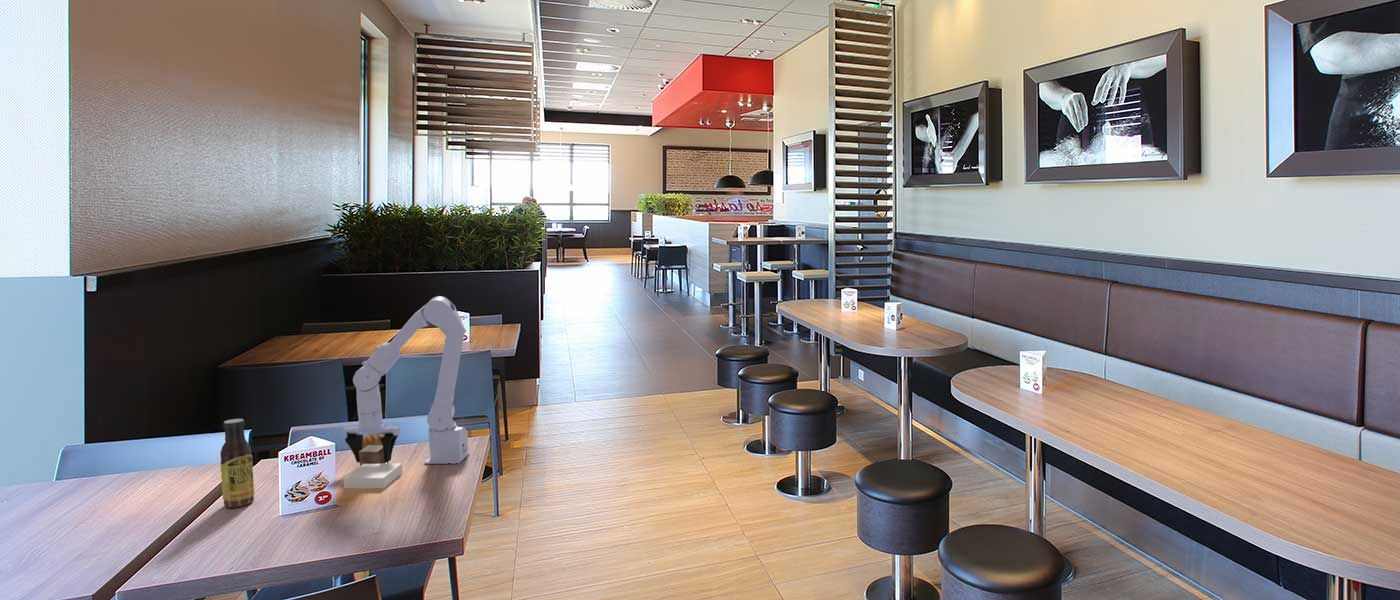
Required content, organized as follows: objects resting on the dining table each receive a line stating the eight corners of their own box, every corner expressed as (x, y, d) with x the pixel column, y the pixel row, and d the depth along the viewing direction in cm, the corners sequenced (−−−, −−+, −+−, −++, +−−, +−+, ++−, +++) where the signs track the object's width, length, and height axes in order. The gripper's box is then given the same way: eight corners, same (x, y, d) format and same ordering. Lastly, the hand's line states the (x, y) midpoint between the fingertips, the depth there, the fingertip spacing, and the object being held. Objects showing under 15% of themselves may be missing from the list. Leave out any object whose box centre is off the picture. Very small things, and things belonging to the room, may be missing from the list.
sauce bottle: (232, 511, 163) (222, 427, 161) (218, 505, 167) (209, 423, 164) (262, 501, 169) (253, 419, 166) (248, 495, 172) (239, 415, 170)
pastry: (357, 453, 202) (356, 440, 201) (350, 447, 207) (349, 435, 206) (391, 445, 208) (390, 433, 207) (384, 440, 213) (383, 428, 212)
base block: (402, 474, 185) (402, 463, 185) (384, 489, 175) (383, 478, 175) (365, 474, 186) (364, 463, 185) (344, 490, 176) (343, 478, 175)
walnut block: (388, 463, 193) (386, 445, 192) (379, 469, 188) (377, 451, 187) (369, 463, 193) (368, 445, 193) (360, 470, 188) (358, 451, 188)
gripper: (334, 415, 185) (339, 466, 187) (389, 415, 184) (393, 466, 186) (348, 408, 192) (353, 457, 194) (402, 407, 191) (405, 456, 193)
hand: (373, 461), depth 190 cm, fingers open, 7 cm apart
